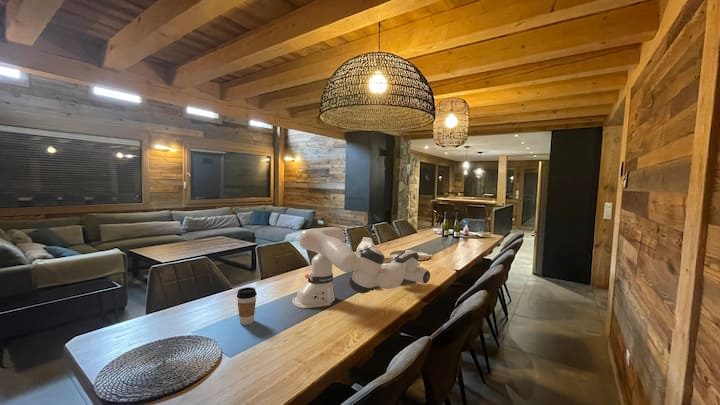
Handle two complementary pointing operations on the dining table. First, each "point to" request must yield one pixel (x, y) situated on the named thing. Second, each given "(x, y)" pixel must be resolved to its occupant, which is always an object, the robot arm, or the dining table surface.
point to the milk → (365, 244)
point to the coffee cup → (246, 305)
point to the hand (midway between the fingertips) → (394, 264)
